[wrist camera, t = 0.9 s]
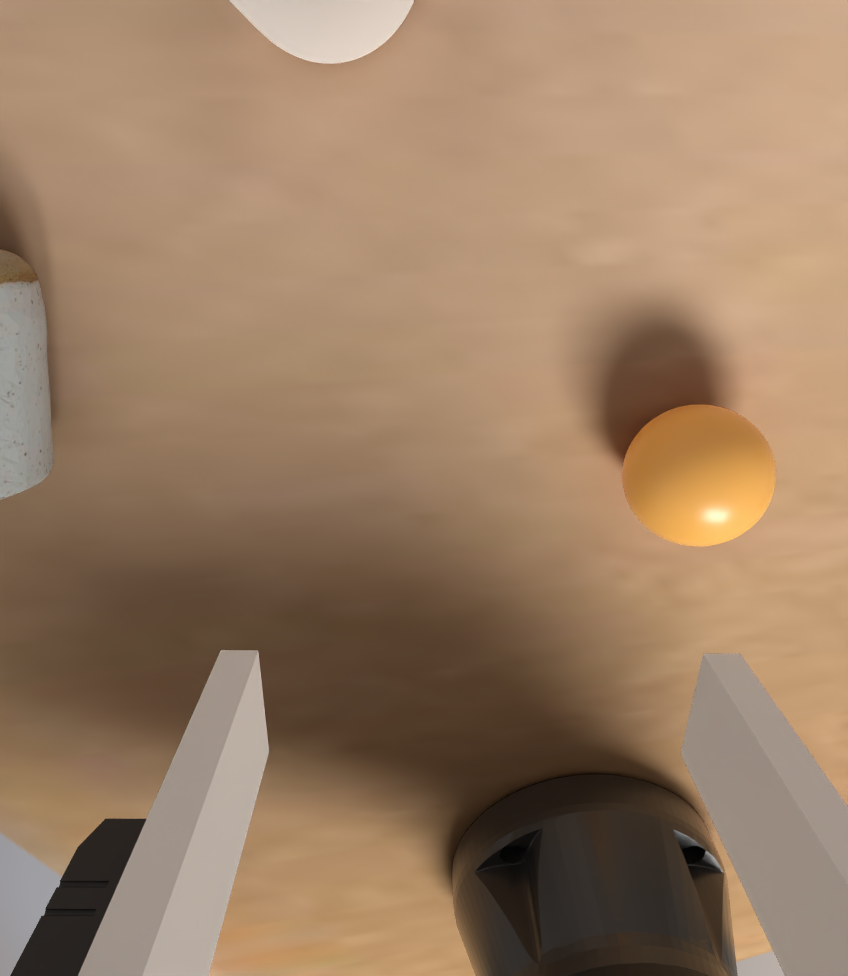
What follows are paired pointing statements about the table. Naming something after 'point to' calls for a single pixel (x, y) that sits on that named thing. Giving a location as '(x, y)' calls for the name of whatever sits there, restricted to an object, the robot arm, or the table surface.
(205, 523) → the table surface
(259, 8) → the can
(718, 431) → the ball
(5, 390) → the grey lying cylinder
